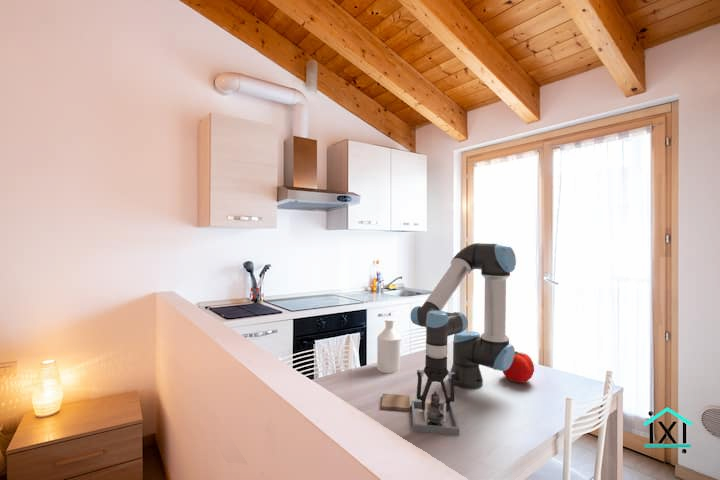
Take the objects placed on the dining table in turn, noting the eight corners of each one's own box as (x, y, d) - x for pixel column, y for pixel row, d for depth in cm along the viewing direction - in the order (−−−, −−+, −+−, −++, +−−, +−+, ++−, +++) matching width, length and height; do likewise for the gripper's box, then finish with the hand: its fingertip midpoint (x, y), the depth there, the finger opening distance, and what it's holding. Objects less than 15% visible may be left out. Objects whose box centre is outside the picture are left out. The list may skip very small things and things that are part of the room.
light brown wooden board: (409, 398, 147) (409, 395, 147) (410, 411, 136) (410, 408, 136) (382, 396, 148) (382, 393, 148) (381, 409, 138) (381, 406, 137)
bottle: (384, 362, 188) (385, 315, 188) (404, 368, 181) (405, 319, 181) (372, 369, 178) (373, 319, 178) (392, 375, 171) (393, 323, 171)
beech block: (436, 409, 138) (436, 398, 138) (439, 415, 134) (440, 403, 134) (425, 409, 138) (425, 398, 138) (428, 415, 133) (428, 403, 133)
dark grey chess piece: (424, 420, 130) (425, 387, 129) (440, 420, 130) (441, 387, 130) (429, 429, 124) (429, 395, 124) (445, 428, 124) (446, 394, 124)
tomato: (497, 374, 175) (497, 346, 175) (525, 375, 175) (526, 347, 174) (509, 387, 159) (510, 357, 159) (540, 388, 159) (541, 358, 159)
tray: (451, 408, 139) (451, 403, 139) (459, 434, 121) (459, 428, 121) (411, 405, 141) (411, 400, 141) (413, 430, 123) (413, 425, 122)
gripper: (461, 353, 129) (460, 416, 130) (409, 350, 131) (408, 412, 132) (465, 360, 122) (463, 427, 122) (410, 357, 124) (408, 422, 124)
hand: (434, 419), depth 127 cm, fingers closed on dark grey chess piece, 6 cm apart
